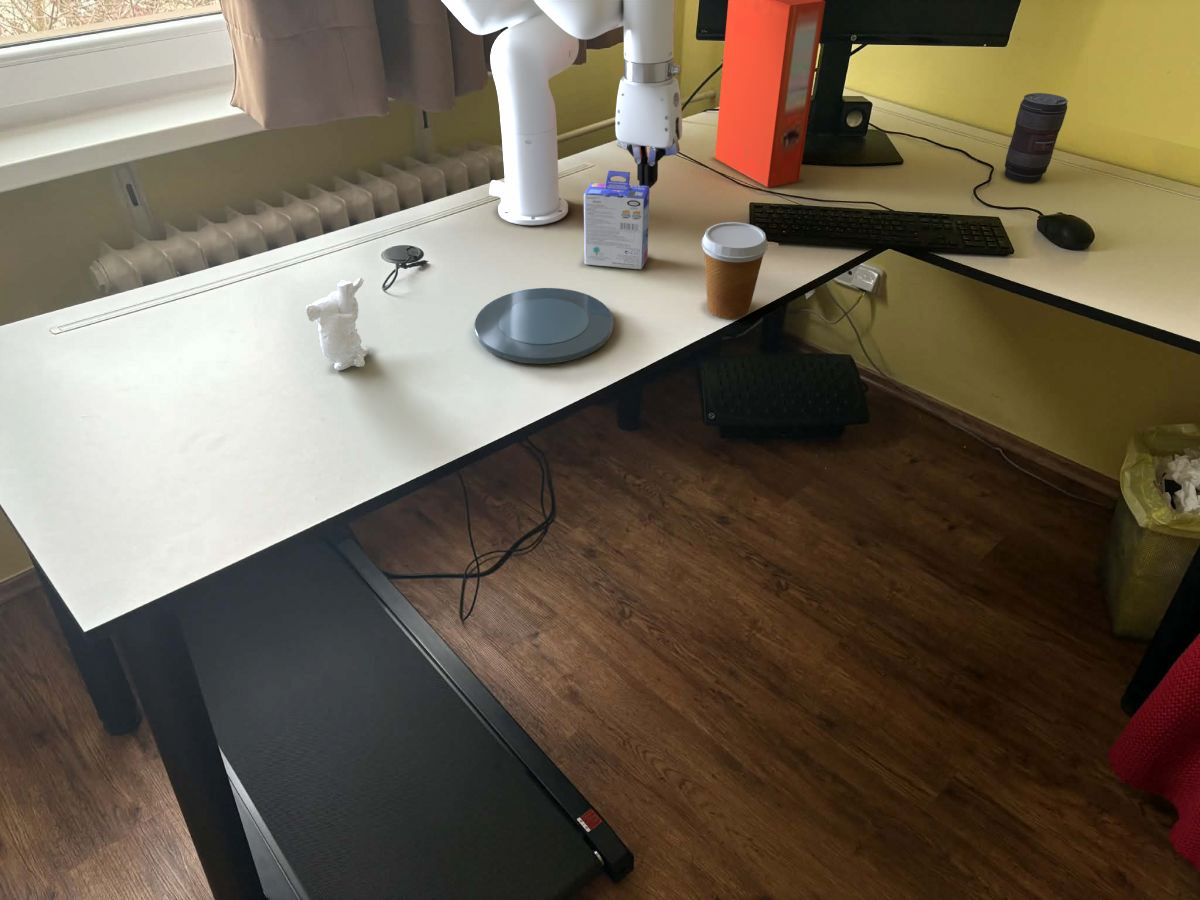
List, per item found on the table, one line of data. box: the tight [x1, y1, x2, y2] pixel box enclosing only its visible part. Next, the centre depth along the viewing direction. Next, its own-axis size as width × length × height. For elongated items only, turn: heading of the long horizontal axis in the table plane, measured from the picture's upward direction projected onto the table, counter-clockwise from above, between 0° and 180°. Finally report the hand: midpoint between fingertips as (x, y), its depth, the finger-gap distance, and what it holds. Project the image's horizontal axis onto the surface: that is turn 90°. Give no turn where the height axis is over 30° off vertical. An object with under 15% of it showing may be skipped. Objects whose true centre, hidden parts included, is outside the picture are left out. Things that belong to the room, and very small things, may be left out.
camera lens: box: [1004, 92, 1069, 184], centre depth 171 cm, size 8×8×15 cm
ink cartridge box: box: [583, 170, 650, 270], centre depth 144 cm, size 10×6×14 cm, turn 78°
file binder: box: [714, 0, 826, 189], centre depth 169 cm, size 8×17×32 cm, turn 29°
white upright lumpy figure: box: [305, 277, 370, 371], centre depth 120 cm, size 8×7×12 cm
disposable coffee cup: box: [700, 221, 769, 320], centre depth 132 cm, size 10×10×12 cm
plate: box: [474, 287, 614, 365], centre depth 130 cm, size 20×20×2 cm
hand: (647, 185), depth 149 cm, fingers closed
